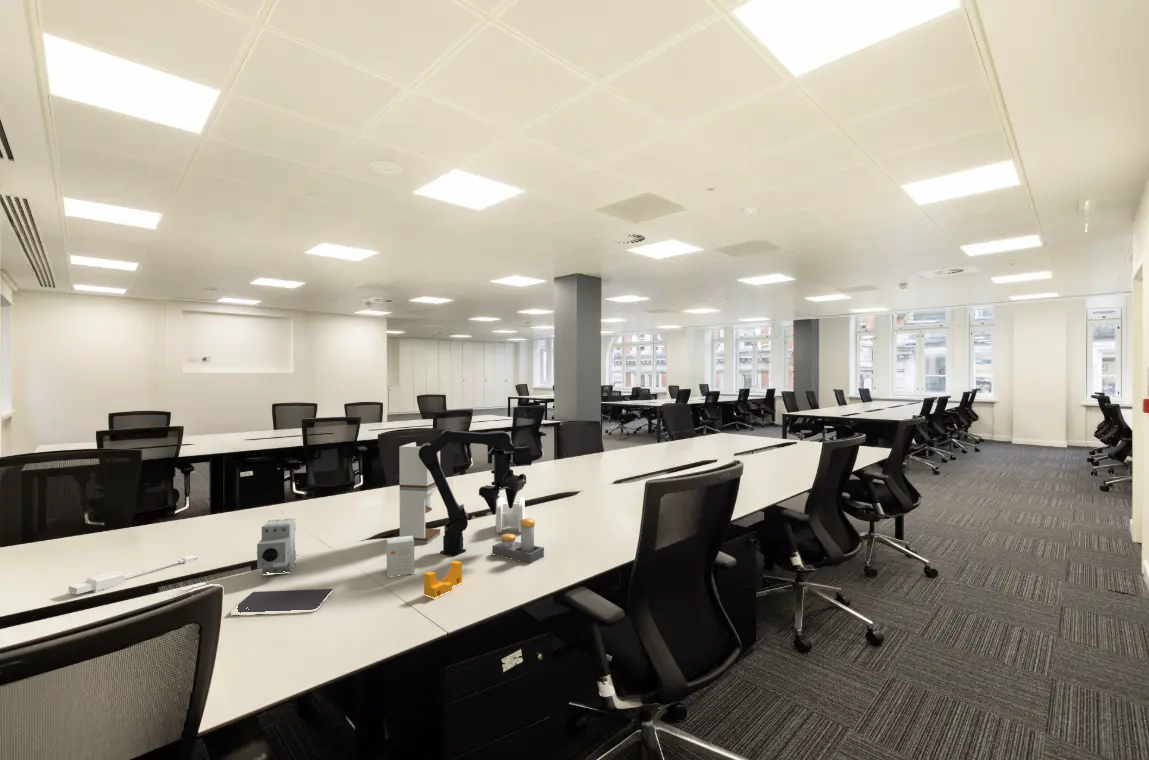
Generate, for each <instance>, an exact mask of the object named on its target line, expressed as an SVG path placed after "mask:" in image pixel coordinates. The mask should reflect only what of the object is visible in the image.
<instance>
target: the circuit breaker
mask: <svg viewBox="0 0 1149 760" xmlns="http://www.w3.org/2000/svg"><path fill="white" fill-rule="evenodd" d="M295 520H296V518H295V517H293V518H284V519H281V518H279V519H268V521H266V522H265V523H264V524H263V525H262V526H261V539H260V540H259V542H257V544H256V555H257V557H256V559H257V560H256V561H257V562H256V563H257V564H256V565H257V567H256V569H257V570H261V575H262V574H267V573H266V572H269V573H285V572H290V571H291V569H292V568H293V566H294V565H295V562H296V560H297V555H296V536H295V535H296V531H297V530H296V526H297V525H296V522H295ZM295 566H296V565H295ZM295 566H294V567H295ZM293 569H294V568H293ZM293 569H292V570H293ZM283 571H285V572H283ZM291 572H292V571H291ZM291 572H290V573H291Z"/></svg>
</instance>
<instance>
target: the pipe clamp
mask: <svg viewBox="0 0 1149 760" xmlns="http://www.w3.org/2000/svg"><path fill="white" fill-rule="evenodd" d="M461 582H462V583H463V562H462V561H460V560H453V561H451V562H450V567H449V569H448V572H447V574H446V575H445V576H444V578H442V579H441V580H438V579H437V574H436V572H433V571H430V570H427V572H423V595H424V594H425V595H428V596H431V597H434V598H435V597H437V596H440V595H441V594H444V593H446V592H448V591H451V590H452V591H453V588H452V586H454V585H457V584H459V583H461ZM457 586H458V585H457Z"/></svg>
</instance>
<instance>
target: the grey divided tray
mask: <svg viewBox="0 0 1149 760" xmlns="http://www.w3.org/2000/svg"><path fill="white" fill-rule="evenodd" d="M516 539H517V538H516V534H513V533H504V534H501V541H500V542H498V543H496V544H494V545H491V546H492V547H491V549H492V550H491V552H492V553H491V554H495V555H494V556H496V555H499V556H498V557H500V556H503V557H502V558H505V557H507V558H506V559H509V558H512V559H511V560H513V559H516V560H515V561H518V560H520V561H519V562H522V561H524V562H523V563H527V562H528V563H527V564H533V563H535V562H536V561H538V560H540V559H542V558H544V557H545V547H542V546H538V545H534V551H533V552H531V553H527V552H523V551H521V542H519V541H516ZM534 561H535V562H534Z"/></svg>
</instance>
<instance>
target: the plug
mask: <svg viewBox="0 0 1149 760" xmlns="http://www.w3.org/2000/svg"><path fill="white" fill-rule="evenodd" d="M535 521H536V520H535V519H534V518H525V519H522V520H520V525H521V533H520V543H521V551H523V552H527V553H531V552H533V551H534V546H535V525H536V522H535Z"/></svg>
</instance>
